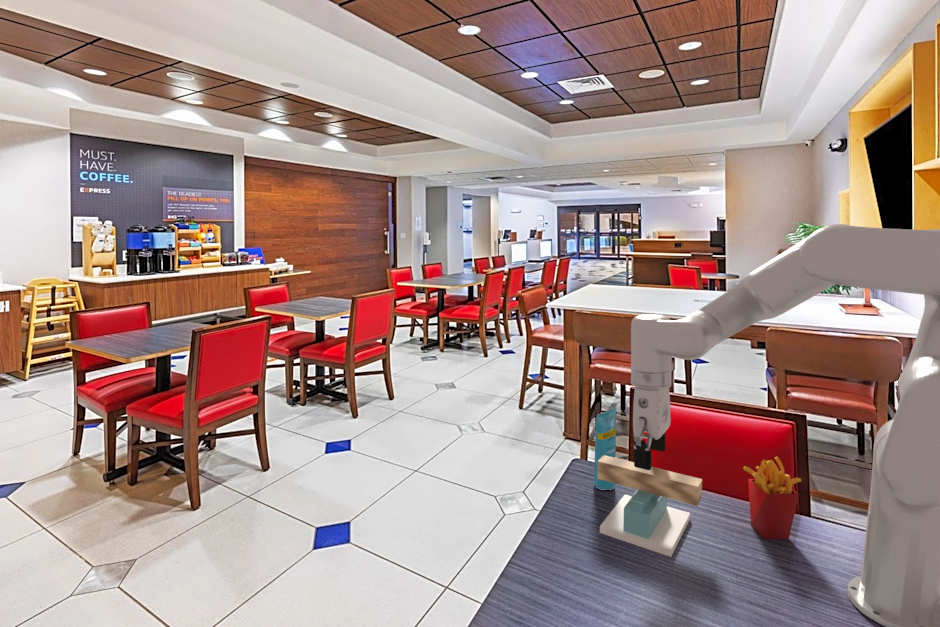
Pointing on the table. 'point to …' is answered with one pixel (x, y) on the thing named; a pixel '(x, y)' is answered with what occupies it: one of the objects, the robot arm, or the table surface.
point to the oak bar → (650, 480)
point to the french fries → (772, 500)
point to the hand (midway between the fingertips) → (650, 458)
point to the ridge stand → (646, 522)
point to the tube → (605, 443)
